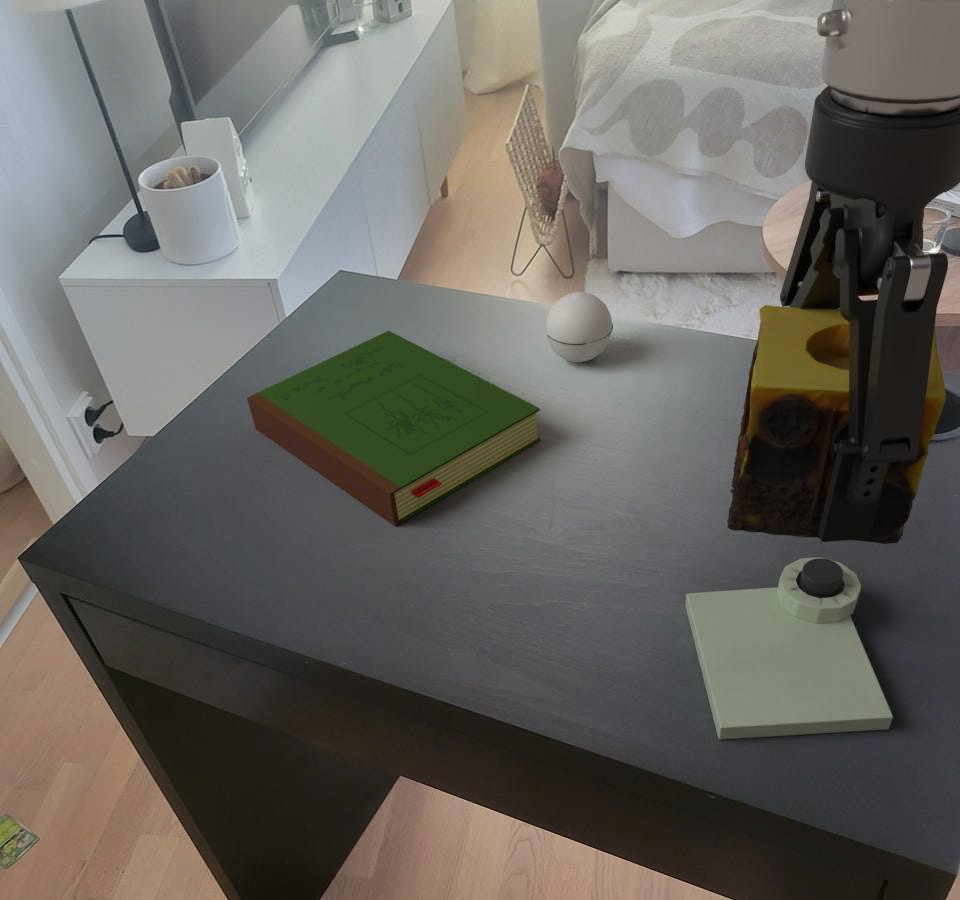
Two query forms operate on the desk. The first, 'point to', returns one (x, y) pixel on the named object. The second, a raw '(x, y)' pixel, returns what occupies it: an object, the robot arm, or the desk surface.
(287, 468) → the desk surface
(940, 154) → the robot arm
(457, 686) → the desk surface
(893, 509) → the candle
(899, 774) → the desk surface
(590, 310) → the white ball
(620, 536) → the desk surface
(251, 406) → the hardcover book
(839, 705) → the scale
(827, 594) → the button
